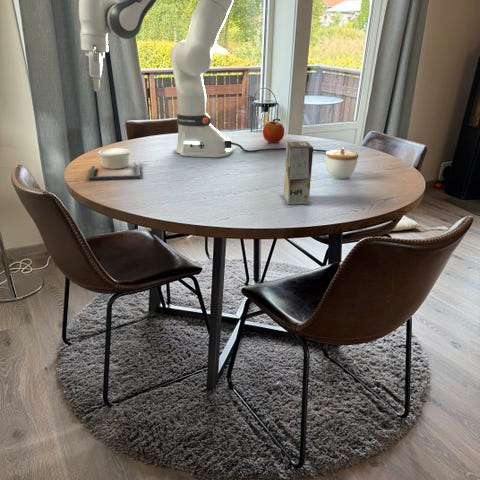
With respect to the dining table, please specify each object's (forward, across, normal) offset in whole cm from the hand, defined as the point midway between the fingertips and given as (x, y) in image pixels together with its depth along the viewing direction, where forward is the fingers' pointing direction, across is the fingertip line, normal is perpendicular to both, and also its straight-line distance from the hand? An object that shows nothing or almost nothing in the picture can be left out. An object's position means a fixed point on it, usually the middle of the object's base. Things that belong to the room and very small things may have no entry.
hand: (96, 89), depth 175 cm
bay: (+24, -20, -5) cm, 32 cm away
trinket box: (+19, -38, -80) cm, 91 cm away
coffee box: (+21, -60, -57) cm, 85 cm away
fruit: (+18, +20, -74) cm, 79 cm away
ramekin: (+24, -10, -6) cm, 27 cm away
